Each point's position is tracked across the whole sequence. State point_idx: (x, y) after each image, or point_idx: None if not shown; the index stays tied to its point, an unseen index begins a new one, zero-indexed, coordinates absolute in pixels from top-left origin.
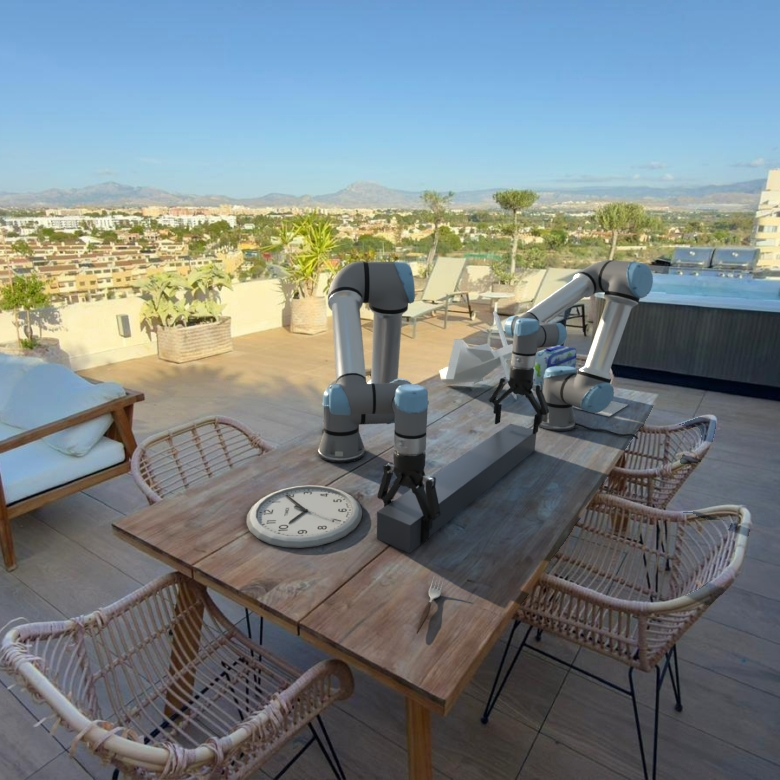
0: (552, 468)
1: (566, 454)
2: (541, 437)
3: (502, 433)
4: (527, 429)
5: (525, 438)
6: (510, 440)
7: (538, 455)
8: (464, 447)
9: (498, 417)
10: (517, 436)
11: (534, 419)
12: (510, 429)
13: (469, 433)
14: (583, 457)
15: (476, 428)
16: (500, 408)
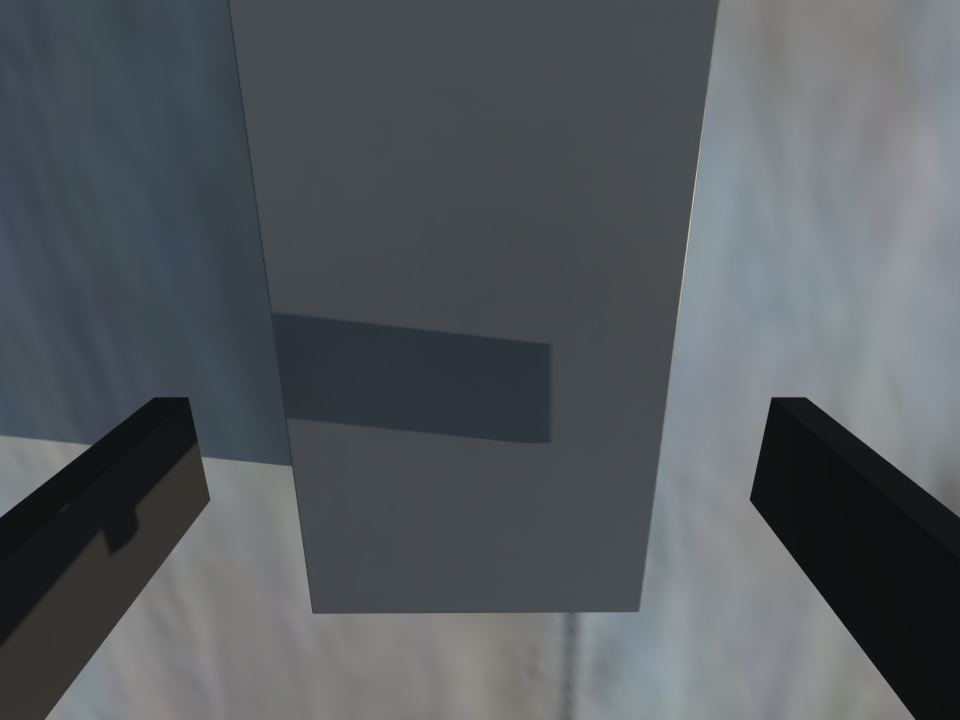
0: (63, 237)
1: None
2: (433, 694)
3: (605, 268)
4: (402, 573)
5: (270, 299)
6: (393, 76)
7: None
8: (924, 145)
9: (820, 497)
10: (387, 296)
11: (3, 554)
12: (569, 461)
13: (954, 464)
14: None
15: None
16: (926, 675)
